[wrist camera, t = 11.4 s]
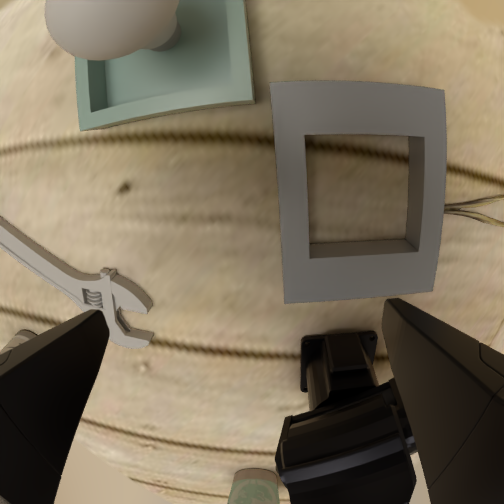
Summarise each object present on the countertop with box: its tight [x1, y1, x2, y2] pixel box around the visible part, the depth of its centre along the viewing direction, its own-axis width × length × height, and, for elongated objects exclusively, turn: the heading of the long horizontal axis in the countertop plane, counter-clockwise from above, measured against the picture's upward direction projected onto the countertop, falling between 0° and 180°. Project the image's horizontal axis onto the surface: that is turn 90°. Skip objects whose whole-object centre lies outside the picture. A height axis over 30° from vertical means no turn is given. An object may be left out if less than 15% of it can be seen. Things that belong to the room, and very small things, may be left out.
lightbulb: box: [45, 0, 181, 61], centre depth 11 cm, size 6×6×11 cm
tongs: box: [444, 195, 504, 227], centre depth 20 cm, size 4×13×2 cm, turn 99°
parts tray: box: [75, 0, 255, 131], centre depth 15 cm, size 11×11×3 cm
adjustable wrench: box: [0, 216, 154, 349], centre depth 23 cm, size 25×6×2 cm, turn 57°
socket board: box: [270, 81, 447, 304], centre depth 19 cm, size 14×11×2 cm
